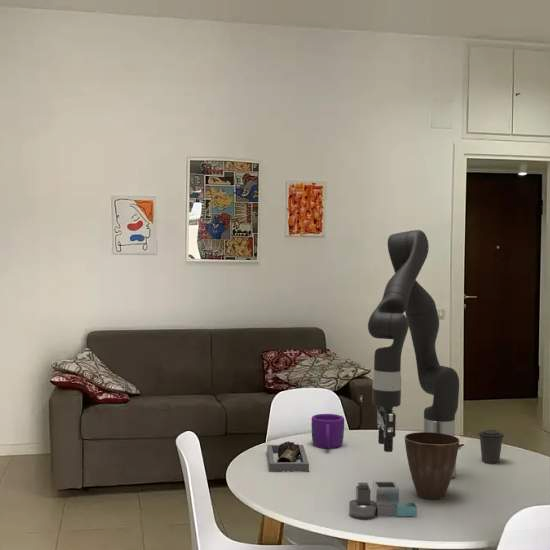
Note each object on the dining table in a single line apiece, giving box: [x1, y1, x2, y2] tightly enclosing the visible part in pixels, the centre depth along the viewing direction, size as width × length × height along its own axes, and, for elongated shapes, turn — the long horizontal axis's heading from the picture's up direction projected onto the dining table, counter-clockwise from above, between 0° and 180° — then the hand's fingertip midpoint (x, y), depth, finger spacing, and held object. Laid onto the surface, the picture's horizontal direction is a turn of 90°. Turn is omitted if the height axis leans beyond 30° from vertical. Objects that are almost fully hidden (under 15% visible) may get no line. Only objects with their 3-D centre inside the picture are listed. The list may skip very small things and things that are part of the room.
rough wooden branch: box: [276, 441, 300, 462], centre depth 244 cm, size 18×7×6 cm, turn 168°
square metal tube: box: [371, 480, 400, 505], centre depth 205 cm, size 6×6×5 cm
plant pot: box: [404, 431, 460, 500], centre depth 212 cm, size 15×15×16 cm
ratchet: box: [348, 482, 418, 521], centre depth 196 cm, size 17×7×8 cm, turn 92°
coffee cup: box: [478, 429, 505, 465], centre depth 247 cm, size 8×8×10 cm
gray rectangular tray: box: [266, 444, 310, 473], centre depth 245 cm, size 12×23×2 cm, turn 2°
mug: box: [311, 413, 345, 449], centre depth 263 cm, size 17×11×10 cm, turn 176°
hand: (385, 447), depth 205 cm, fingers open, 8 cm apart
